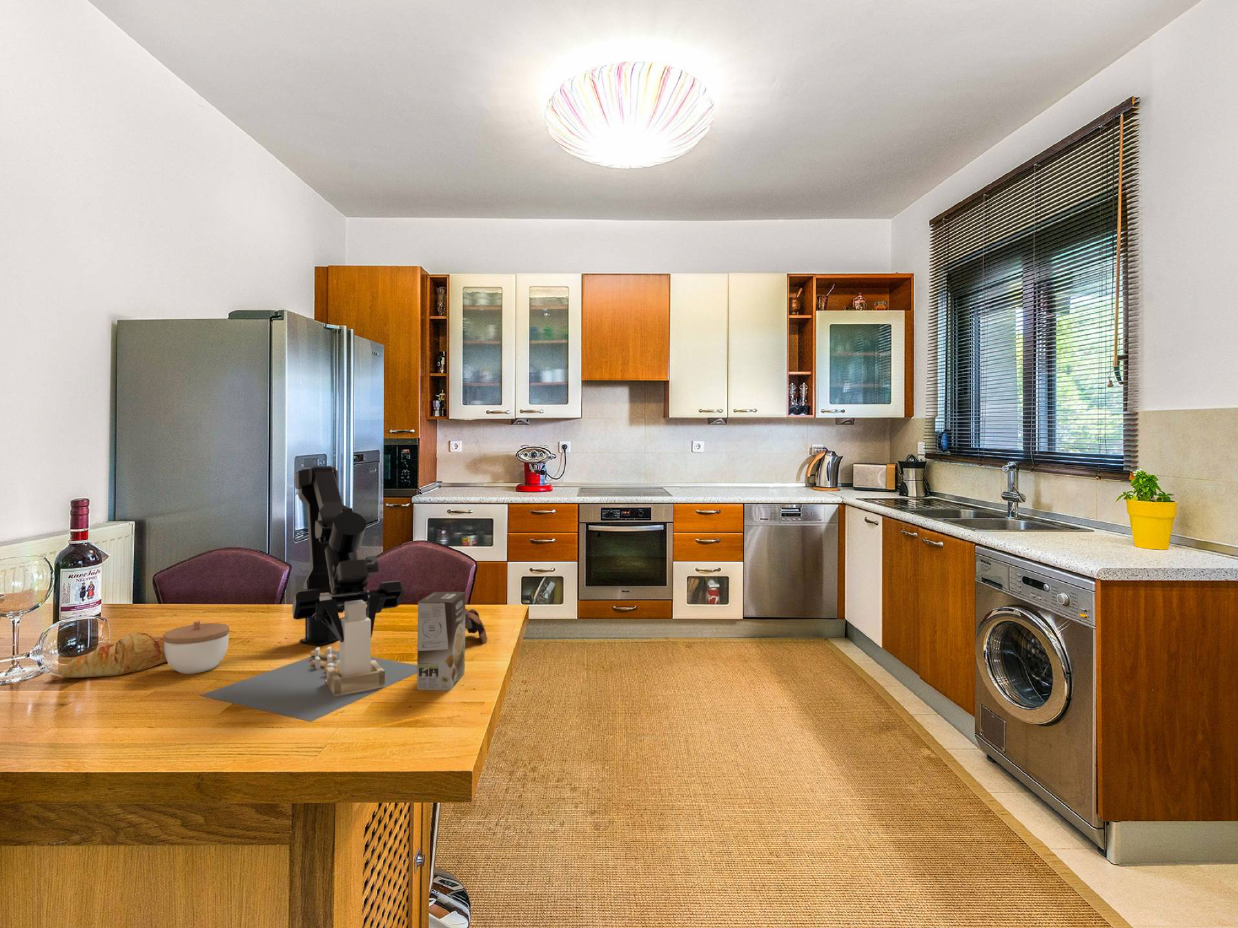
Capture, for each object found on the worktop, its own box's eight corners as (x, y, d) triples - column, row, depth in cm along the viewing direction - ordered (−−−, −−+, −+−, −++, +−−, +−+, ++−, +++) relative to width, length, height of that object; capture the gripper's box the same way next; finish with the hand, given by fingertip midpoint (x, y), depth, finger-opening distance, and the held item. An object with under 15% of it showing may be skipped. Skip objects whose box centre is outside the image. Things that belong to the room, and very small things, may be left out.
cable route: (305, 656, 133) (305, 646, 133) (332, 652, 136) (332, 642, 136) (319, 680, 119) (319, 669, 119) (348, 675, 122) (348, 664, 122)
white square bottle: (339, 672, 118) (339, 601, 118) (364, 667, 121) (365, 598, 120) (344, 679, 115) (344, 606, 114) (370, 675, 117) (370, 603, 117)
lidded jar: (208, 658, 133) (207, 612, 132) (241, 666, 128) (241, 618, 128) (150, 674, 123) (150, 624, 123) (184, 683, 118) (184, 632, 118)
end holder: (325, 681, 119) (325, 666, 119) (373, 673, 123) (373, 658, 123) (334, 696, 112) (334, 680, 112) (385, 686, 116) (385, 671, 116)
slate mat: (199, 697, 112) (199, 695, 112) (330, 651, 137) (330, 649, 137) (310, 723, 101) (310, 721, 101) (429, 669, 127) (429, 666, 127)
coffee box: (451, 692, 115) (452, 602, 115) (416, 691, 115) (416, 601, 115) (465, 674, 124) (466, 591, 124) (432, 673, 125) (432, 590, 124)
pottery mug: (485, 650, 141) (465, 619, 139) (448, 666, 143) (428, 636, 141) (497, 622, 153) (479, 593, 151) (463, 637, 154) (445, 609, 152)
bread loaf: (60, 704, 117) (63, 670, 114) (52, 666, 123) (53, 633, 120) (196, 672, 133) (201, 642, 130) (182, 640, 139) (187, 611, 136)
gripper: (294, 545, 115) (304, 621, 106) (401, 538, 126) (418, 607, 117) (288, 582, 122) (297, 656, 113) (390, 572, 132) (405, 639, 123)
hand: (356, 638), depth 116 cm, fingers closed on white square bottle, 4 cm apart
